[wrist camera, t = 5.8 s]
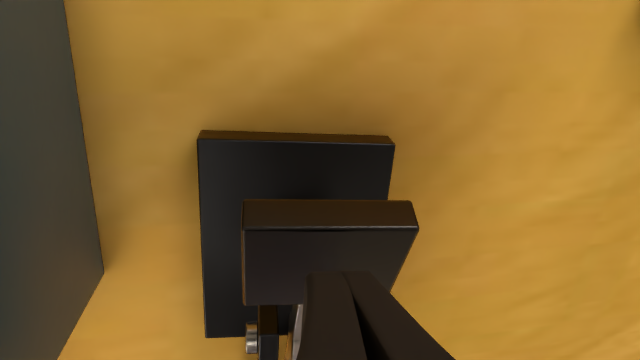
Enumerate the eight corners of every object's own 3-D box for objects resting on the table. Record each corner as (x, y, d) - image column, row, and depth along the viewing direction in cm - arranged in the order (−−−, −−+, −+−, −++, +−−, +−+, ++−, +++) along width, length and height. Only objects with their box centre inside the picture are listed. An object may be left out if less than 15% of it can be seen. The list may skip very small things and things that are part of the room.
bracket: (363, 316, 23) (408, 460, 16) (207, 321, 22) (183, 479, 15) (388, 135, 19) (463, 220, 12) (200, 129, 18) (161, 220, 11)
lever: (335, 385, 22) (341, 438, 21) (236, 391, 22) (234, 446, 20) (424, 176, 11) (452, 257, 9) (221, 172, 10) (213, 260, 9)
